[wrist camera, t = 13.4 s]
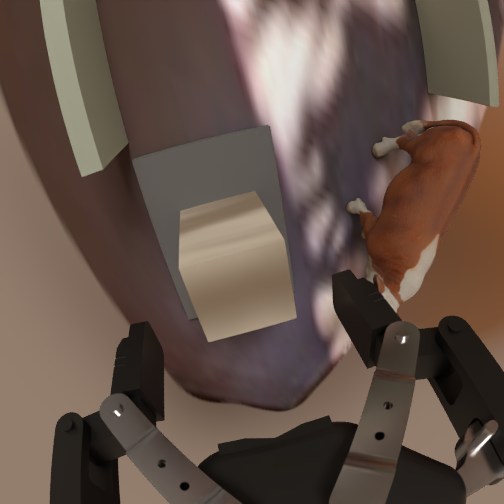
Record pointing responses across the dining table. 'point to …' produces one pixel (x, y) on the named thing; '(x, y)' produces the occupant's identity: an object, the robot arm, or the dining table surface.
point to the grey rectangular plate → (207, 186)
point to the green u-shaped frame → (106, 106)
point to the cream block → (235, 266)
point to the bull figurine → (417, 204)
